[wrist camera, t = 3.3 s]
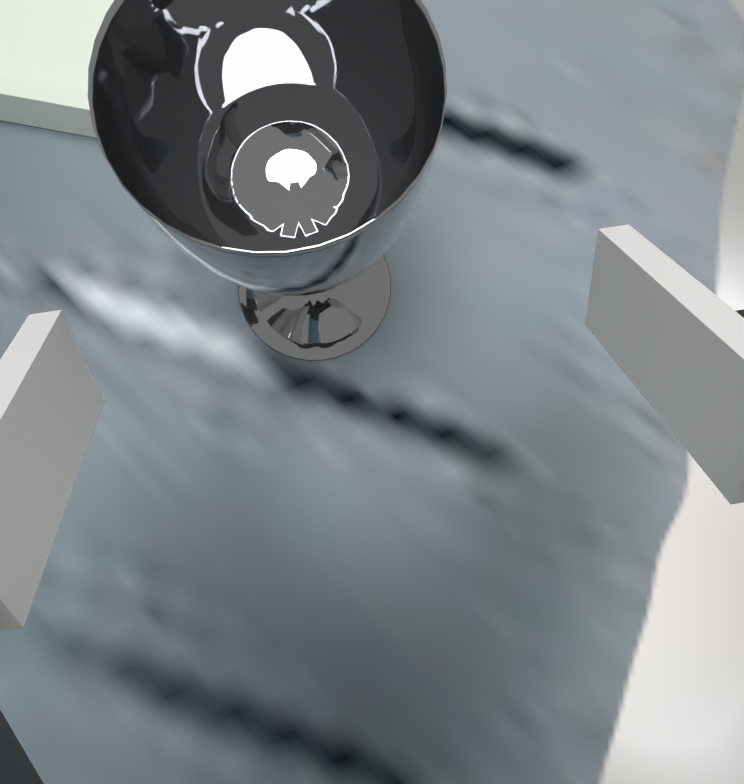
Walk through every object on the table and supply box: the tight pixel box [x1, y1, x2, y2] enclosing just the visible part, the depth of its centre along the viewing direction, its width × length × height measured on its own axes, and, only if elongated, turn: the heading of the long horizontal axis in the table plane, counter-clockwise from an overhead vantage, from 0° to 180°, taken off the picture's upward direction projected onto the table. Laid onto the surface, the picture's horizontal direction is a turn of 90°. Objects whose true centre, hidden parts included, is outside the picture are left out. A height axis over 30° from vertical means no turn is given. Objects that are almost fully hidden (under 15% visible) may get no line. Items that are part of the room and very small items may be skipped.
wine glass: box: [88, 0, 447, 361], centre depth 21 cm, size 8×8×15 cm
